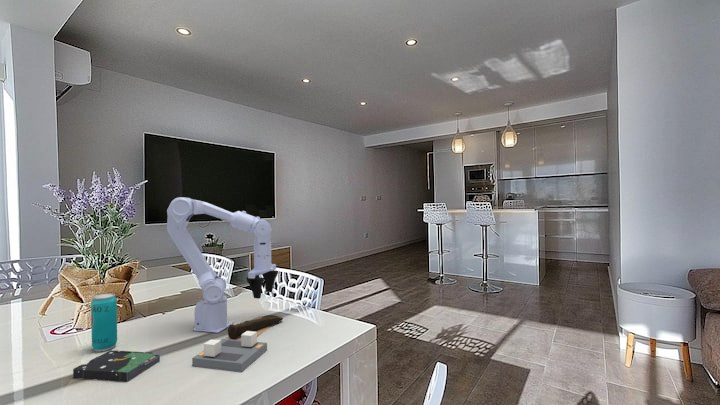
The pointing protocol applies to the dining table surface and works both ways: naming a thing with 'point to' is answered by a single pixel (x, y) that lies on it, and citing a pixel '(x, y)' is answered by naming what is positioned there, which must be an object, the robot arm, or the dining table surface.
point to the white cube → (212, 348)
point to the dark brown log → (252, 325)
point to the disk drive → (117, 366)
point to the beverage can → (104, 322)
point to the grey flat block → (231, 356)
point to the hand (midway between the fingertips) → (263, 294)
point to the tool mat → (254, 331)
